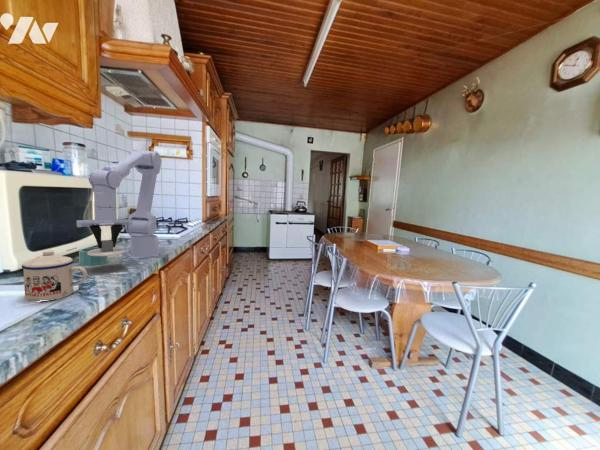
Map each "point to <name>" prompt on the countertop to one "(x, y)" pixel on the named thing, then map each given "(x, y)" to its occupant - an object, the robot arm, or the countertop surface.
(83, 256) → the bowl
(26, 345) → the countertop surface
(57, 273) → the teacup with lid
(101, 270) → the mat
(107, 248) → the lid
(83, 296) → the countertop surface
